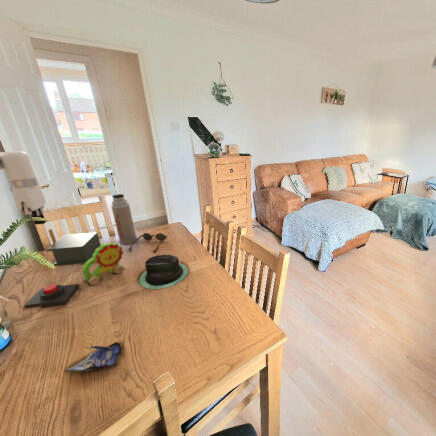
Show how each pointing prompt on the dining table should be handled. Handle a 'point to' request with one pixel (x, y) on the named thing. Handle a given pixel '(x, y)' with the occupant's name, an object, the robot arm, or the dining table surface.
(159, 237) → the eyeglasses
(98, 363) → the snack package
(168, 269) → the black fedora hat
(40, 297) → the control block
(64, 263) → the dark green box
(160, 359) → the dining table surface
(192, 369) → the dining table surface
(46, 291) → the red button
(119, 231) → the thermos bottle
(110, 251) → the toy lion
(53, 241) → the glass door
